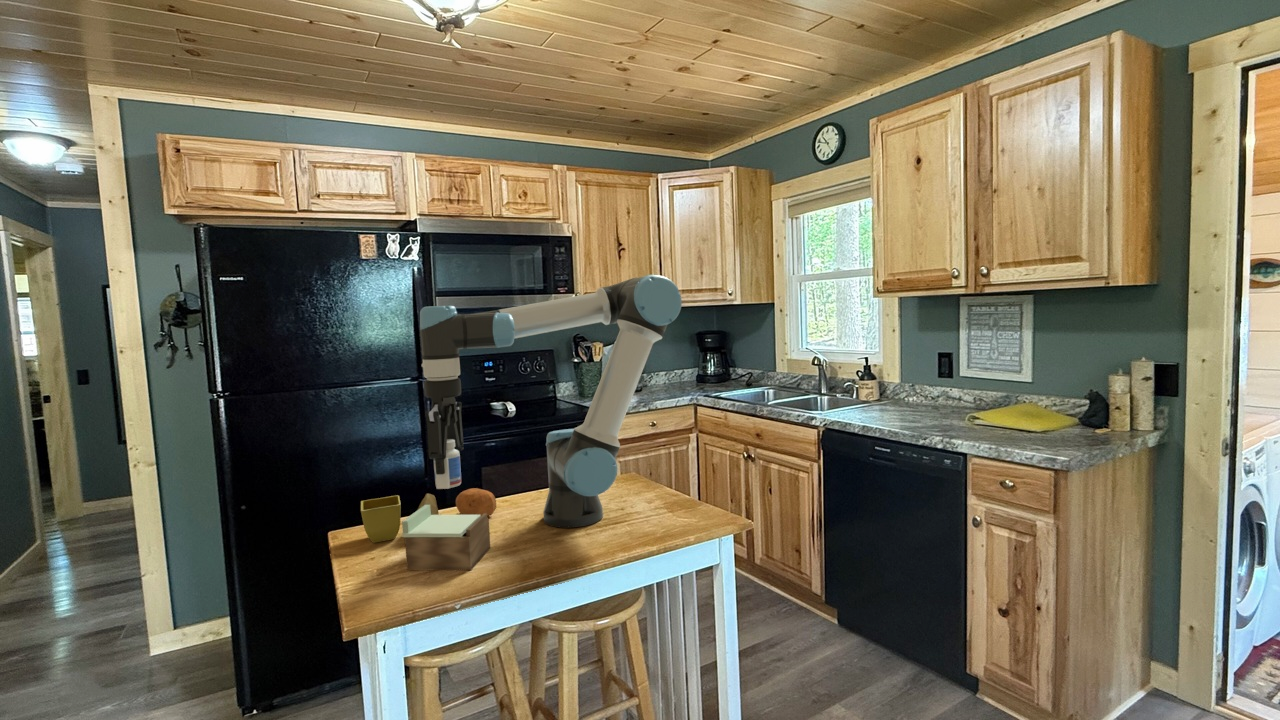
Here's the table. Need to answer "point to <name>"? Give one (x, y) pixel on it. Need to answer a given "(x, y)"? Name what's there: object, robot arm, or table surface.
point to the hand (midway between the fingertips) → (449, 483)
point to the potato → (476, 502)
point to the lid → (436, 524)
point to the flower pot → (381, 518)
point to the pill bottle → (452, 464)
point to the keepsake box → (449, 549)
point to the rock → (430, 503)
